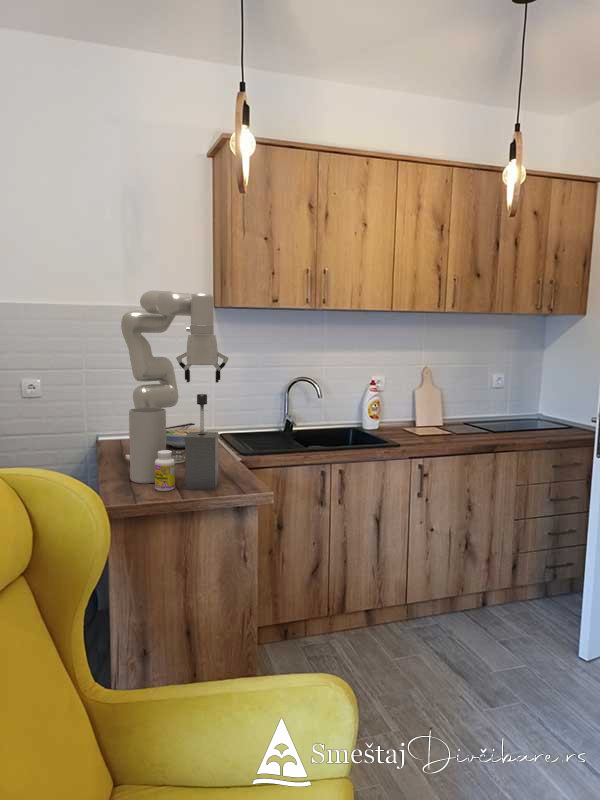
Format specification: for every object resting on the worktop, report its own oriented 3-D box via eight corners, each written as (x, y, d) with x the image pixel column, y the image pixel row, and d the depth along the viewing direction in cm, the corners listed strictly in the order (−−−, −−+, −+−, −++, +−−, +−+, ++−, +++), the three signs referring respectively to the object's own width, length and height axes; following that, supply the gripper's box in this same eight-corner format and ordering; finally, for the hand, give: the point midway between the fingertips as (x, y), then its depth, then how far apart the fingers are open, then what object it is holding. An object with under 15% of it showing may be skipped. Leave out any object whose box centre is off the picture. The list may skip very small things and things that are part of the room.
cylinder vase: (134, 474, 219) (133, 407, 216) (169, 475, 220) (168, 407, 217) (126, 484, 207) (125, 412, 204) (162, 484, 208) (162, 413, 204)
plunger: (190, 458, 201) (189, 395, 199) (193, 453, 208) (192, 393, 206) (211, 458, 202) (211, 396, 199) (213, 454, 209) (213, 393, 206)
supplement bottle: (150, 490, 200) (150, 452, 198) (162, 485, 206) (161, 448, 204) (168, 492, 198) (167, 454, 196) (178, 487, 204) (178, 450, 202)
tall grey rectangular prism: (185, 489, 201) (185, 437, 199) (190, 479, 214) (190, 430, 212) (215, 490, 202) (215, 437, 199) (218, 479, 215) (219, 430, 212)
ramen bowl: (175, 454, 253) (174, 435, 252) (143, 446, 268) (142, 428, 267) (219, 445, 272) (219, 428, 271) (187, 438, 287) (186, 422, 286)
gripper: (174, 330, 195) (175, 383, 197) (227, 331, 196) (227, 383, 198) (177, 330, 203) (178, 381, 205) (229, 331, 203) (229, 381, 205)
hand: (202, 382), depth 201 cm, fingers open, 9 cm apart
